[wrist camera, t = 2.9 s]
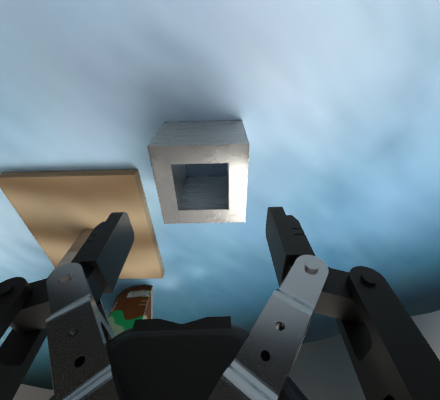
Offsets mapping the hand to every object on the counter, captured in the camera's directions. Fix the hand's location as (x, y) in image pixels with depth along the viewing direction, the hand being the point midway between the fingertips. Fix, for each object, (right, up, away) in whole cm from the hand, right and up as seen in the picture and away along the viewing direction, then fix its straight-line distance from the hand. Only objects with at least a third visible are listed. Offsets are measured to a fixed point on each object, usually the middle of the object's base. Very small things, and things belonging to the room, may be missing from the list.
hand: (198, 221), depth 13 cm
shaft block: (-12, -2, +11) cm, 16 cm away
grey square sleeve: (0, +5, +6) cm, 8 cm away
